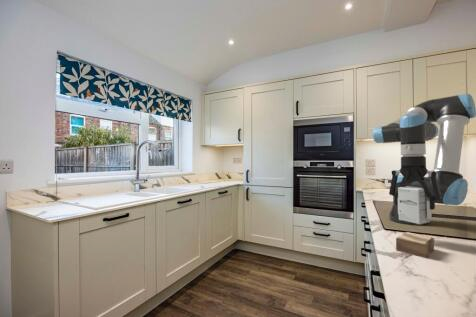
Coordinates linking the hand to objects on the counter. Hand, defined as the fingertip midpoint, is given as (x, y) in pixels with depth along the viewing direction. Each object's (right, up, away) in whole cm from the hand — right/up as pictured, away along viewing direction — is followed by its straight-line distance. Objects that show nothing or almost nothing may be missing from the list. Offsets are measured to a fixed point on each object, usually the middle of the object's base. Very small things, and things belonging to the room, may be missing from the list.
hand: (414, 215), depth 87 cm
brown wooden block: (-7, -9, -10) cm, 15 cm away
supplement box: (0, -2, 0) cm, 2 cm away
